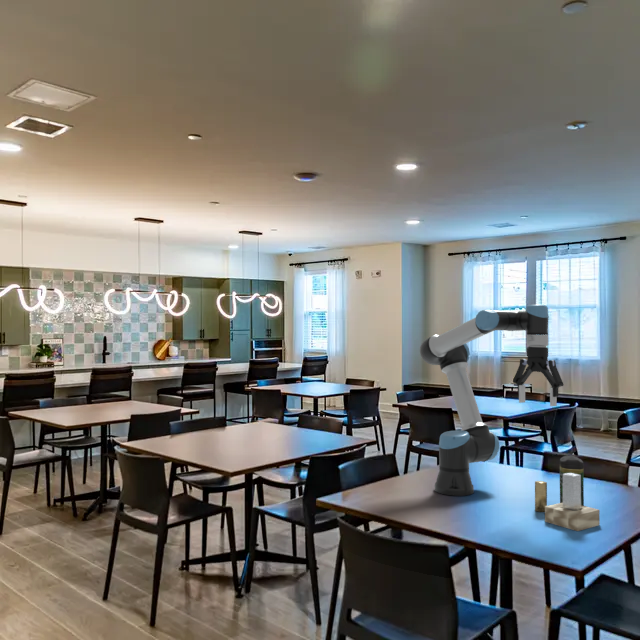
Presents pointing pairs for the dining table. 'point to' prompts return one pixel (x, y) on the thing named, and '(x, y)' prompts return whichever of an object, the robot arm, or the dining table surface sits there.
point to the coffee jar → (571, 466)
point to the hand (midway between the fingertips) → (537, 404)
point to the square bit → (572, 491)
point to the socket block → (572, 517)
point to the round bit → (540, 496)
